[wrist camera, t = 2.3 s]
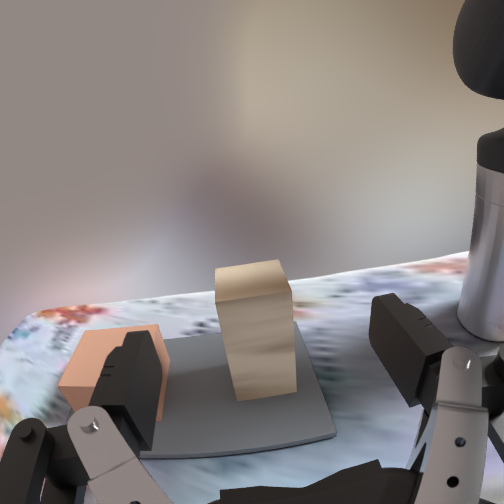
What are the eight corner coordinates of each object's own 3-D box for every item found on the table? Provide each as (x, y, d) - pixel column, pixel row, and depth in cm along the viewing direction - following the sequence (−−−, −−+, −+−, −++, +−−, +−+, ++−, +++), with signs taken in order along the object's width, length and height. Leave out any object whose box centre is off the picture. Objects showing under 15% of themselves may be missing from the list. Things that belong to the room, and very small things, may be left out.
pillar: (233, 362, 29) (215, 268, 25) (286, 354, 29) (278, 259, 25) (237, 401, 24) (215, 301, 20) (296, 391, 24) (291, 290, 21)
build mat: (99, 348, 33) (97, 344, 33) (296, 325, 34) (295, 321, 34) (60, 451, 19) (57, 447, 19) (336, 436, 20) (336, 432, 20)
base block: (100, 364, 30) (85, 330, 28) (170, 359, 30) (157, 324, 28) (80, 419, 22) (57, 385, 20) (161, 421, 23) (143, 385, 21)
